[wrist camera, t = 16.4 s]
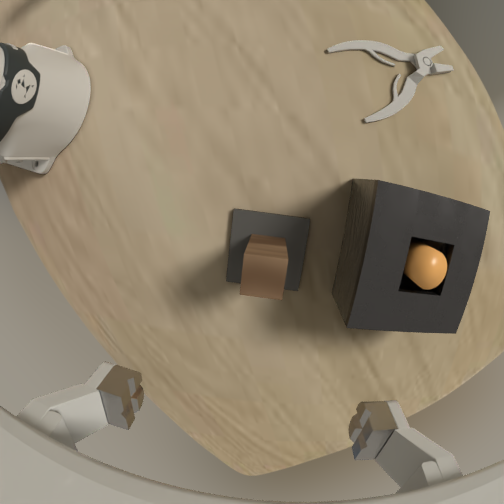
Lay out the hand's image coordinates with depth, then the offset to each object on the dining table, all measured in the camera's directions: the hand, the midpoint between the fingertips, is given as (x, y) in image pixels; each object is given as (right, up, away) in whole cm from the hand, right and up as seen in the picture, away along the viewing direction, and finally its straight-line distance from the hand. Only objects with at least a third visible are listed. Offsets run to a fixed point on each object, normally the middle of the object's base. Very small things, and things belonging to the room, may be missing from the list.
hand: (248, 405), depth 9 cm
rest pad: (+2, +6, +22) cm, 23 cm away
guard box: (+16, +6, +21) cm, 27 cm away
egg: (+16, +5, +18) cm, 25 cm away
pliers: (+17, +26, +16) cm, 35 cm away
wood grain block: (+2, +5, +22) cm, 23 cm away
